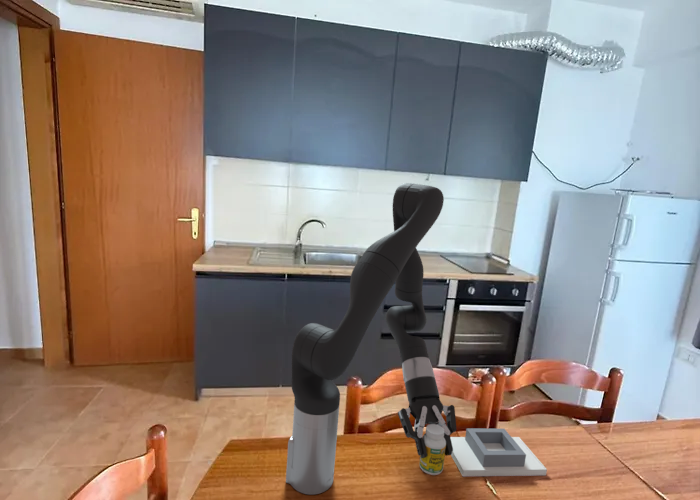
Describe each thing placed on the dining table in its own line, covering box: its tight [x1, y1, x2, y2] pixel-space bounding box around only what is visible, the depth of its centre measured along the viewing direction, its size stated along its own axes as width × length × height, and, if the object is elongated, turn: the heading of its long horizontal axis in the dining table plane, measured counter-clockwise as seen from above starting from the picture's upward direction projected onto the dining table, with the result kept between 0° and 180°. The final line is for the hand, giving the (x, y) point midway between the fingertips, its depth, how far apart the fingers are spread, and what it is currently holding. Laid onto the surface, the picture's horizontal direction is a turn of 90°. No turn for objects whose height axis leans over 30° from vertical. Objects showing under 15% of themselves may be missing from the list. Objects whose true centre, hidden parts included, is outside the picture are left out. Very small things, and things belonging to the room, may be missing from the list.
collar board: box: [450, 427, 548, 477], centre depth 96 cm, size 20×12×4 cm, turn 97°
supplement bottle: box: [419, 424, 446, 476], centre depth 91 cm, size 5×5×10 cm
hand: (436, 455), depth 89 cm, fingers closed on supplement bottle, 5 cm apart
